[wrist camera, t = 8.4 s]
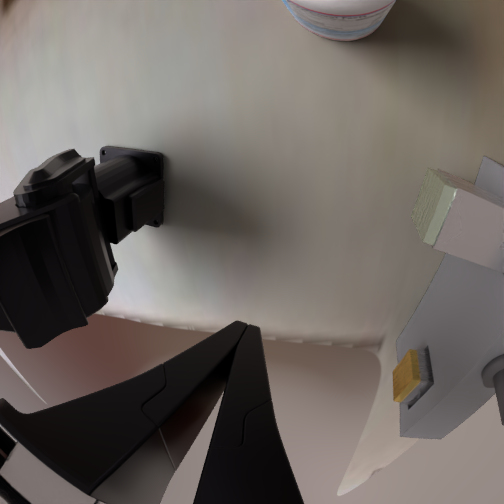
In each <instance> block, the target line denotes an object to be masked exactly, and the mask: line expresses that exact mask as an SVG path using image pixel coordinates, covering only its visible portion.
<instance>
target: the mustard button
mask: <svg viewBox="0 0 504 504" xmlns="http://www.w3.org/2000/svg"><path fill="white" fill-rule="evenodd" d="M433 385H434V379H433V372H432V366H431V359H430V353H429V351H428V350H423V349H418V348H417V349H416V350H413V349H409V350H408V352H407V353H406V355H405V356H404V357H403V359H402V360H401V361H400V363H399V364H398V365H397V367H396V368H395V369H394V370H393V395H394V401H396V402H400V404H404V405H412V406H413V405H414V404H415V403H416V402H417V401H418V400H419V399H420V398H421V397H422V396H423V395H424V394H425V393H426V392H427V391H428V390H429V389H430V388H431V387H432V386H433Z"/></svg>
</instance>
